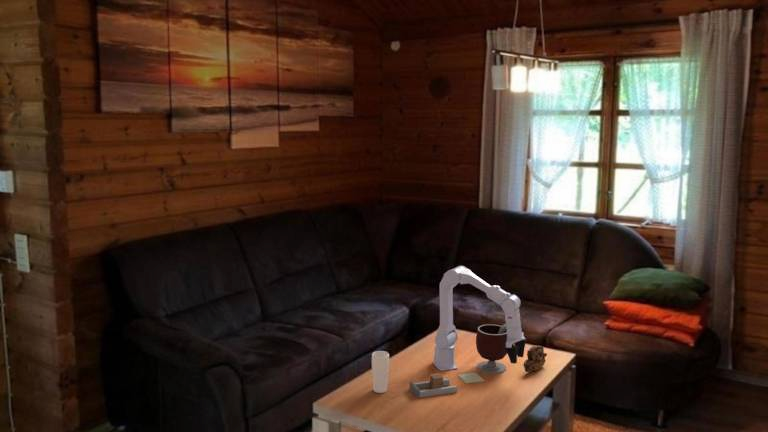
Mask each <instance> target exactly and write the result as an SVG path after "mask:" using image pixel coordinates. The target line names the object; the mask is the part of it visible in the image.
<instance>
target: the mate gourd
mask: <svg viewBox="0 0 768 432" xmlns="http://www.w3.org/2000/svg"><path fill="white" fill-rule="evenodd" d="M506 342H507V329H506V323H504V324H503V325H501V324H500V325H499V324H493V323H492V324H482V325H479V326H478V327H477V331H476V336H475V345H476V347H475V348H476V351H477V352H478V355H479V356H480V357H481V358H482V359H485V360H483V361H479V362H478V363H477V365H476V369H477V370H478V371H480V372H482V373H485V374H490V375H498V374H503V373H505V372H506V371H507V366H506V365H505V364H504V363H502V362H499V361H501V360H503V359H504V358H505V357H506V356H507V355H508V354H507V352H506V351H505V349H504V346H505V345H506Z"/></svg>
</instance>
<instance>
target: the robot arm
mask: <svg viewBox="0 0 768 432" xmlns="http://www.w3.org/2000/svg"><path fill="white" fill-rule="evenodd" d="M459 284H460V285H465V284H466V285H467V284H470V285H471V286H473V287H475V288H477V289H479V290H480V291H482V292H484V293H485V294H486V297H487V298H488V299H489V300H491V301H493V302H494V303H496V304H497V305H498V306H500V307H501V309H502V311H503V312H504V318H505V319H504V320H505V324H506V329H507V342H506V345H505V346H504V349H505V351H506V352H507V354H506V355H507V357H508V359H509V360H510V361H509V362H510V363H511V364H517V363H518V358H524V355H525V354H524V353H525V347H526V344H527V340H528V338H526V337H525V334H524V332H523V331H522V323H521V313H520V307H521V304H522V303H521V299H520V297H519V296H518V295H516V294H511V293H510V292H508V291H505V290H504V289H502V288H501V286H499V285H496V284H495V285H490V284H489V283H487V281H485V280H483V279H482V278H480V277H479V276H477V274H475V273H474V272H472V270H471V269H469V268H467V267H466V266H464V265H458V266H456V267H454V268H452V269H449V270H447V271H446V272H445V273H443V276H442V279H441V281H440V282H439V326H438V328H437V330H436V336H435V338H434V343H435V347H434V349H433V350H434V355H433V360H434V361H432V362H431V363H432V364H433V365H434V366H435V367H436V368H437V369H438V370H439V371H441V372H442V371H450V370H459V369H458V366H457V365H456V364H455V350H456V349H455V347H456V345H455V344H456V342H457V340H458V338H459V337H458V332H457V330H456V326H455V324H454V310H453V309H454V304H453V301H454V297H453V296H454V294H453V289H454V288H455V287H456V286H457V285H459Z"/></svg>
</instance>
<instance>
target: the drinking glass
mask: <svg viewBox="0 0 768 432" xmlns="http://www.w3.org/2000/svg"><path fill="white" fill-rule="evenodd" d="M389 369H390V354H389V352H388V351H384V350H377V351H373V352H372V353H371V374H372V388H373V391H374V392H375V393H377V394H383V393H386V392H387V390H388V380H389Z"/></svg>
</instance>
